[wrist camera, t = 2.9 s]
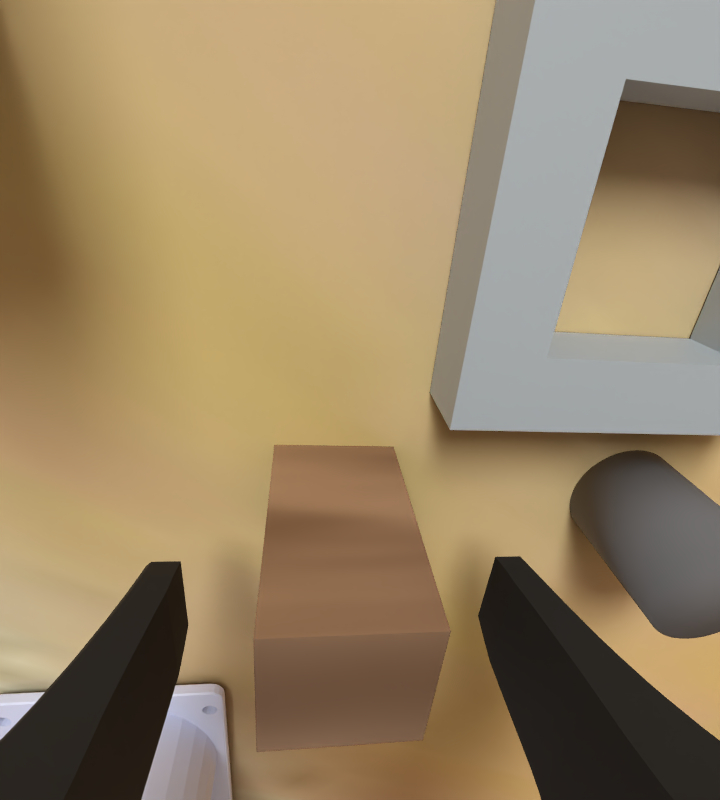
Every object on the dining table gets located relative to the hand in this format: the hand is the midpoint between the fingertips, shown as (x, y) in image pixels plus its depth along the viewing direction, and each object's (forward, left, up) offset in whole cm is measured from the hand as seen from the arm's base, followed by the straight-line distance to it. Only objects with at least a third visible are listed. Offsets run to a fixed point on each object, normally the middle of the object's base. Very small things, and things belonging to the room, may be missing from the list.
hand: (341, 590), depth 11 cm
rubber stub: (0, -9, -4) cm, 10 cm away
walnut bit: (0, 0, -4) cm, 4 cm away
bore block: (+8, -7, -4) cm, 11 cm away
